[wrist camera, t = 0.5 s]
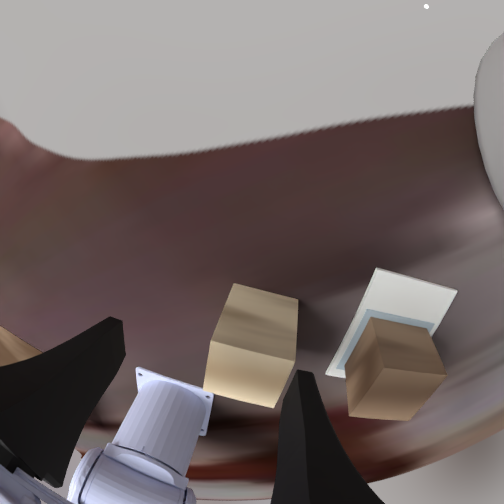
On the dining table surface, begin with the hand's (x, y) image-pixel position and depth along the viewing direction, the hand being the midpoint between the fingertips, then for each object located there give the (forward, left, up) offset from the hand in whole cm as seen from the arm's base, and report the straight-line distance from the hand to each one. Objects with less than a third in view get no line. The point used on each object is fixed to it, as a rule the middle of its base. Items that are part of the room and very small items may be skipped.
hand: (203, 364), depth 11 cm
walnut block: (-4, -12, -9) cm, 15 cm away
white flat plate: (-3, -12, -9) cm, 15 cm away
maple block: (-4, -2, -9) cm, 10 cm away
